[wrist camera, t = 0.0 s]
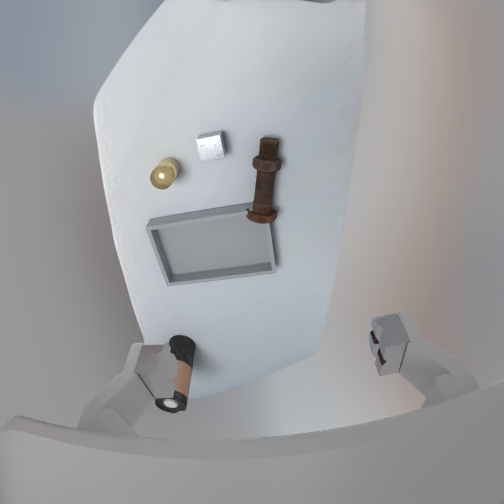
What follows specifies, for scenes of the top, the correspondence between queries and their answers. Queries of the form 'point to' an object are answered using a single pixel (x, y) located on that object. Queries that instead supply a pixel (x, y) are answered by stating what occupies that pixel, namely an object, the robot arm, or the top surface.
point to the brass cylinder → (165, 173)
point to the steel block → (211, 146)
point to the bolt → (265, 182)
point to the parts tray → (211, 245)
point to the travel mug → (179, 374)
